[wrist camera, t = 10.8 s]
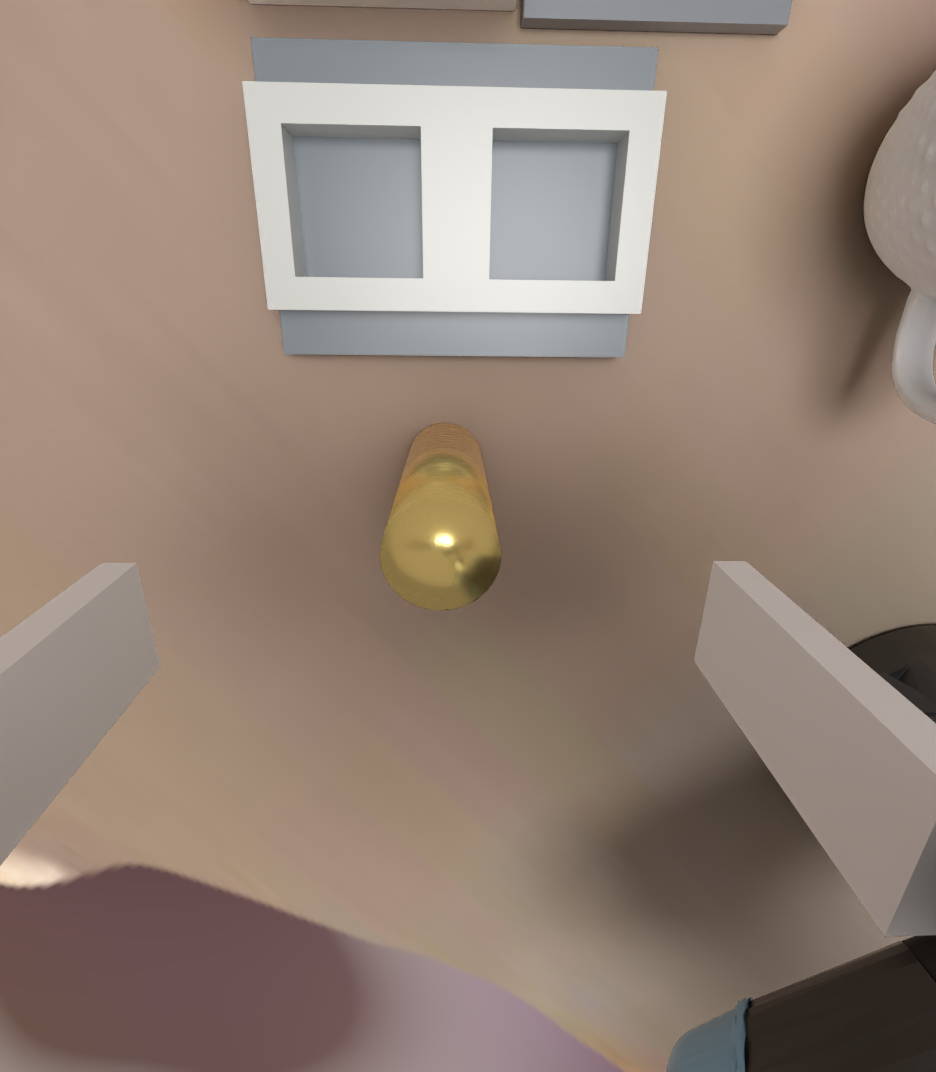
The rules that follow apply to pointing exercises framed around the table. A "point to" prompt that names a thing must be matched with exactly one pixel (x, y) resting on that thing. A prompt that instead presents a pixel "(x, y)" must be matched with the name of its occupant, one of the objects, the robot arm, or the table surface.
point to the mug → (909, 240)
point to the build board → (390, 196)
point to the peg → (441, 523)
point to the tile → (659, 15)
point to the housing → (404, 4)
